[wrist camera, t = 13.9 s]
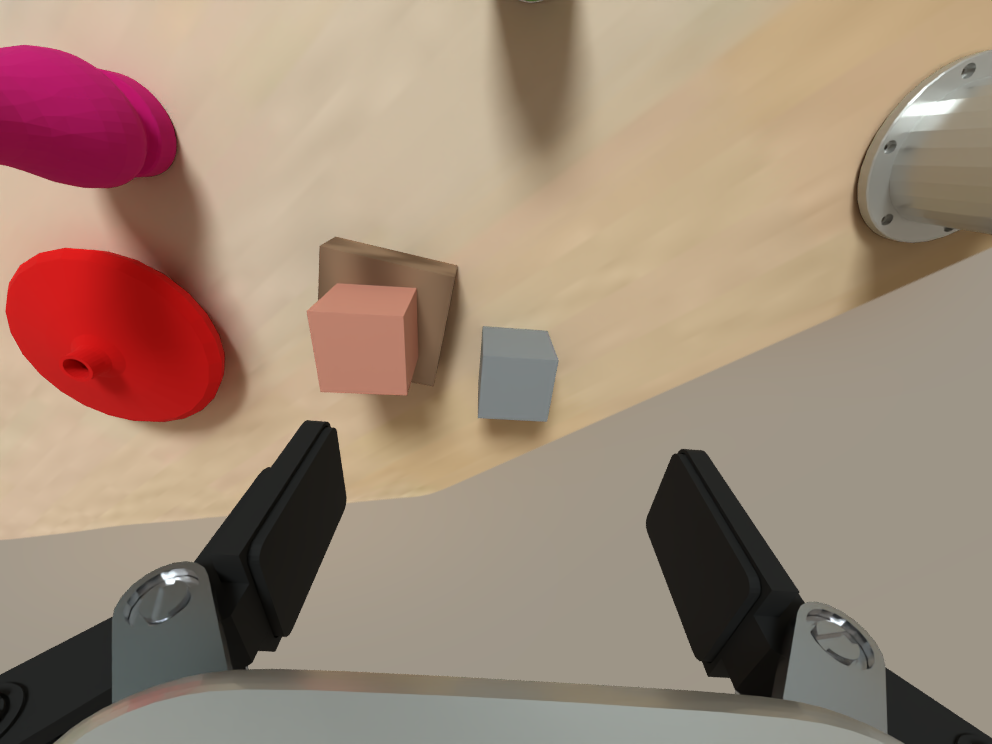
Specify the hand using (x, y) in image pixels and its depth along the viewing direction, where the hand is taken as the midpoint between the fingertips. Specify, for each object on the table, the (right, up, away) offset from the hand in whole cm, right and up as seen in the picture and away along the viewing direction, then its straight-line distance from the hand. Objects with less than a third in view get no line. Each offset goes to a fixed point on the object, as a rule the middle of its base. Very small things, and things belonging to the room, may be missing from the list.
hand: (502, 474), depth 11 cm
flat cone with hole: (-32, +7, +24) cm, 40 cm away
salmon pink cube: (-10, +7, +20) cm, 24 cm away
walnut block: (-10, +9, +24) cm, 27 cm away
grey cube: (+1, +4, +27) cm, 27 cm away
